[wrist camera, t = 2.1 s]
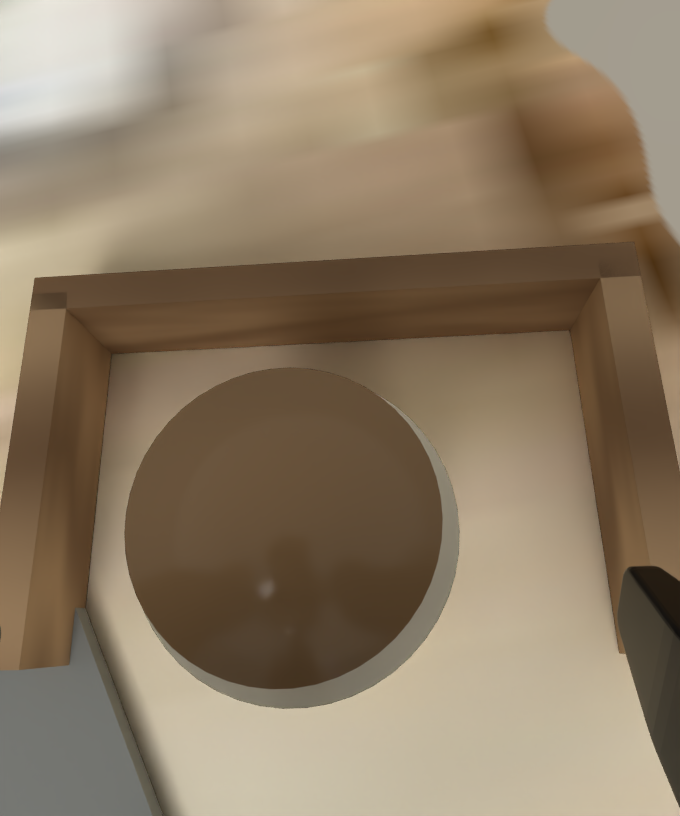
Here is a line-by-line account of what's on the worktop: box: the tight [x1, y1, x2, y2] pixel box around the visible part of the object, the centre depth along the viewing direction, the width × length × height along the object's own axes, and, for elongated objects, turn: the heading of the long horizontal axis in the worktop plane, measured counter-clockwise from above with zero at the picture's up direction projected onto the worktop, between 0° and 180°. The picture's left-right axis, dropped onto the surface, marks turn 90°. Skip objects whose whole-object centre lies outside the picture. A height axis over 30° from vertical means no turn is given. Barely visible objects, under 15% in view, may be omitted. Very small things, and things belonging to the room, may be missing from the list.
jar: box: [125, 368, 460, 709], centre depth 13 cm, size 5×5×10 cm
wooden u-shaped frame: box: [0, 242, 680, 670], centre depth 17 cm, size 10×16×3 cm, turn 91°
